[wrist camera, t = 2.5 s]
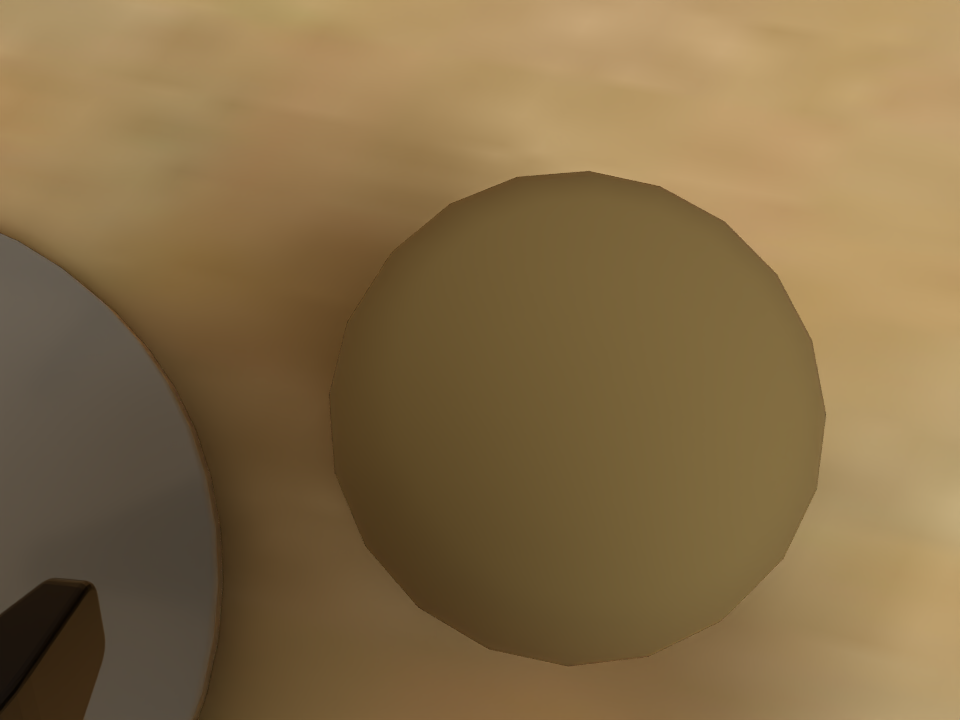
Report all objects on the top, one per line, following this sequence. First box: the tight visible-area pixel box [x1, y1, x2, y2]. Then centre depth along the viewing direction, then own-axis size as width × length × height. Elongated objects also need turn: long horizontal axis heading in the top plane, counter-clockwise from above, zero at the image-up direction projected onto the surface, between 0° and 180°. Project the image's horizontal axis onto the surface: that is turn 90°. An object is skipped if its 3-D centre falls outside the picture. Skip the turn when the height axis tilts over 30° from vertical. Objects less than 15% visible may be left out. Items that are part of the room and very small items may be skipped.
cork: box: [329, 171, 826, 666], centre depth 14 cm, size 6×6×11 cm
